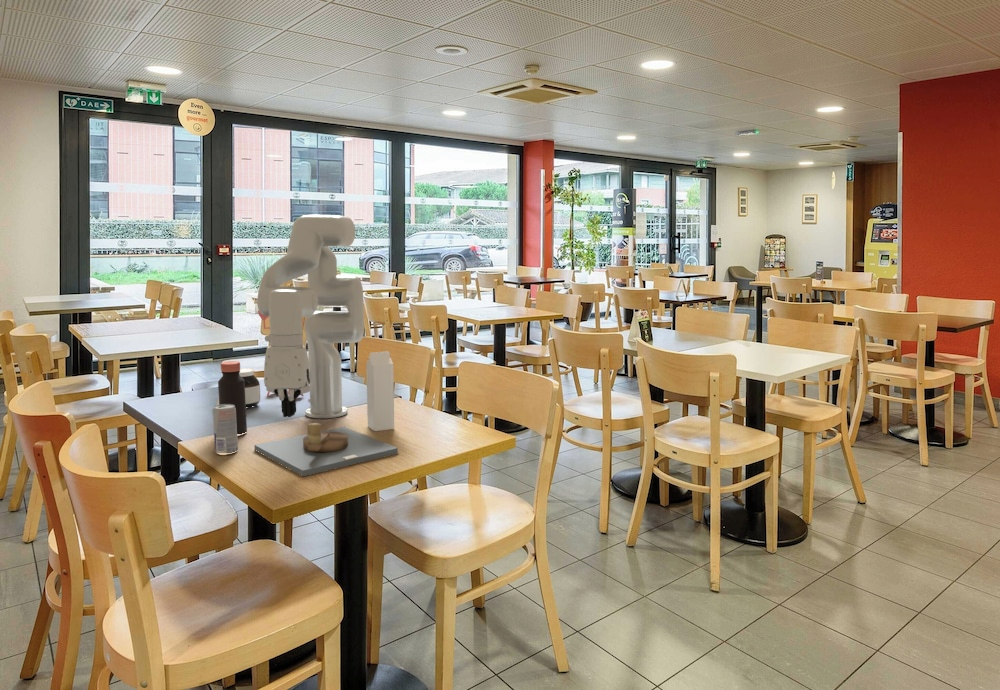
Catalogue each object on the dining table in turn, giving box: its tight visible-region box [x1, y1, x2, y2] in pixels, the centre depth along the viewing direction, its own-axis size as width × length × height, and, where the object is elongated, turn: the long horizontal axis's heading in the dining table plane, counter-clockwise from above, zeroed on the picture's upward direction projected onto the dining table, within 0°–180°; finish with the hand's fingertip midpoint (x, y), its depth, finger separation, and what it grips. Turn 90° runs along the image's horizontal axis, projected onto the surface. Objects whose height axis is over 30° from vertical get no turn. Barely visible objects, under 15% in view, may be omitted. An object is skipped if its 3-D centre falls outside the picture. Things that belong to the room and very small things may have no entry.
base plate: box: [254, 426, 399, 477], centre depth 178 cm, size 26×26×2 cm
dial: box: [303, 422, 348, 452], centre depth 175 cm, size 16×11×8 cm
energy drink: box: [212, 404, 239, 453], centre depth 177 cm, size 5×5×12 cm
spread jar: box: [216, 368, 261, 408], centre depth 223 cm, size 12×11×12 cm
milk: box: [365, 351, 395, 432], centre depth 200 cm, size 6×6×22 cm
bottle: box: [217, 360, 248, 434], centre depth 192 cm, size 7×7×20 cm
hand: (289, 415), depth 171 cm, fingers closed
